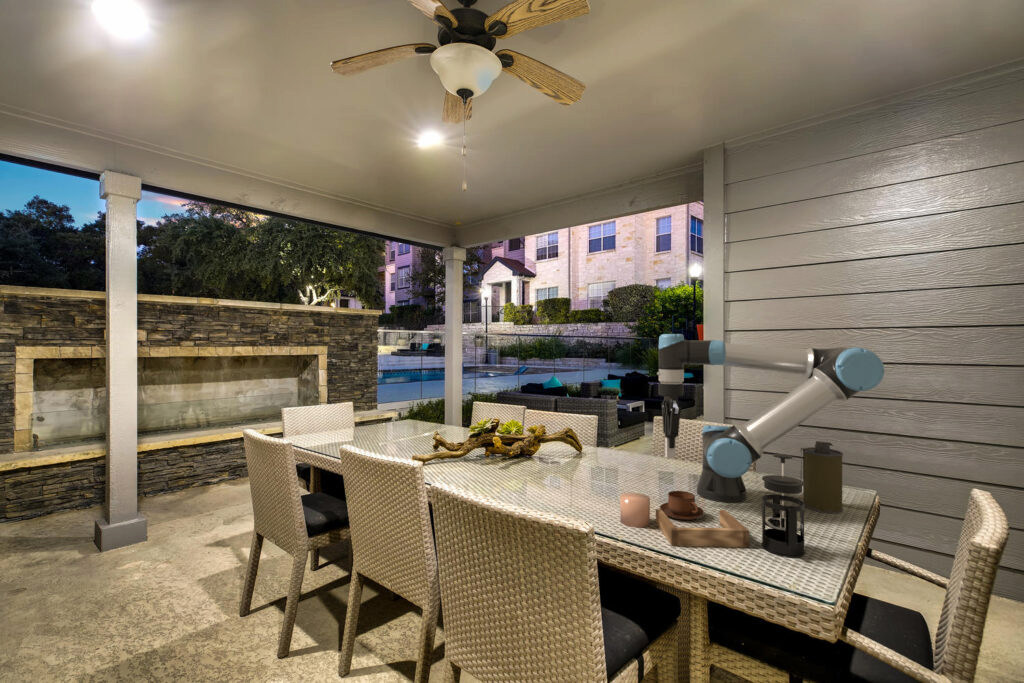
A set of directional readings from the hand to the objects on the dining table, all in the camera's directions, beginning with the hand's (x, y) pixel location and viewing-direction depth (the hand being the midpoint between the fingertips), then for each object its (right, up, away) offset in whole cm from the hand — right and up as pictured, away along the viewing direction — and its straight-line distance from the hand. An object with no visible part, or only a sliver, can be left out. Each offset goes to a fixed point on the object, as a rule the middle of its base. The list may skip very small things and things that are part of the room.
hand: (670, 457), depth 149 cm
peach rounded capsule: (-15, -14, -16) cm, 26 cm away
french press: (+16, -14, -34) cm, 40 cm away
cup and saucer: (0, -15, -11) cm, 18 cm away
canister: (+45, -15, -4) cm, 48 cm away
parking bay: (-1, -14, -25) cm, 28 cm away
